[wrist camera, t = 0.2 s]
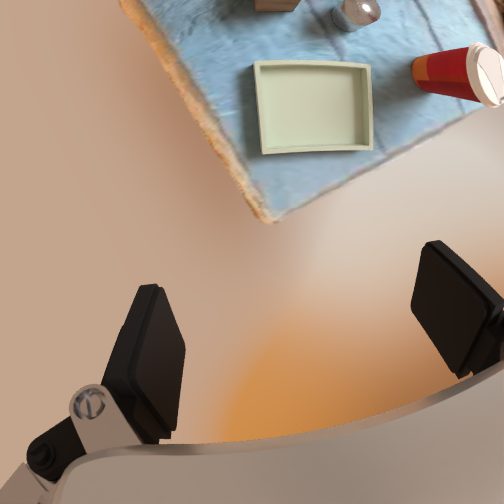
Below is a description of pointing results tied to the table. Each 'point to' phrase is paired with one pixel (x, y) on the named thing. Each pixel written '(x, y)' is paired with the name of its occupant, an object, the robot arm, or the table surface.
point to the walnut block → (275, 5)
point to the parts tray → (313, 105)
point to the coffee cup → (463, 74)
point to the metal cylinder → (355, 14)
